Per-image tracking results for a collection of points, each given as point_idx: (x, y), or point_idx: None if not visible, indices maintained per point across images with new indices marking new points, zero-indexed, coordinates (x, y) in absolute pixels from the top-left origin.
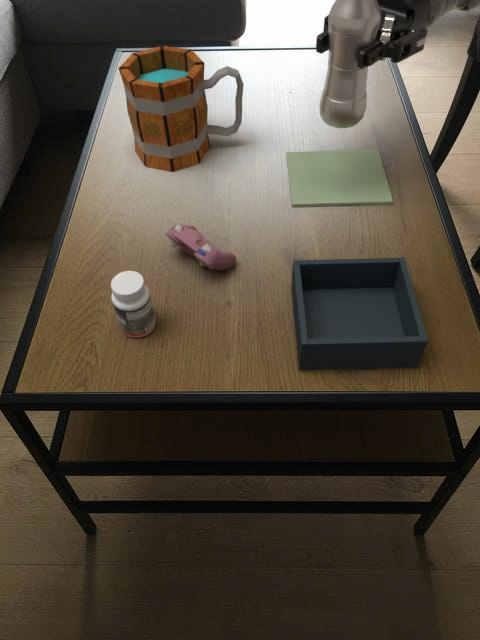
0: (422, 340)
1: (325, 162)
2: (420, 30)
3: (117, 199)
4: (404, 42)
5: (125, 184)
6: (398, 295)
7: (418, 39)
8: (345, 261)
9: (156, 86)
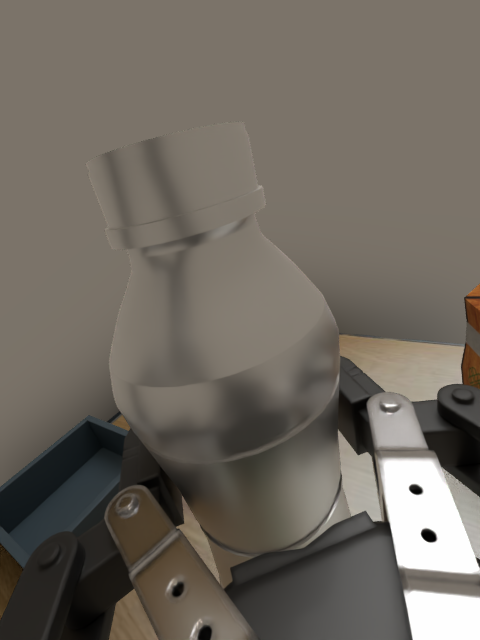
0: None
1: None
2: None
3: (403, 367)
4: (19, 582)
5: (434, 374)
6: None
7: None
8: (104, 491)
9: (470, 294)
